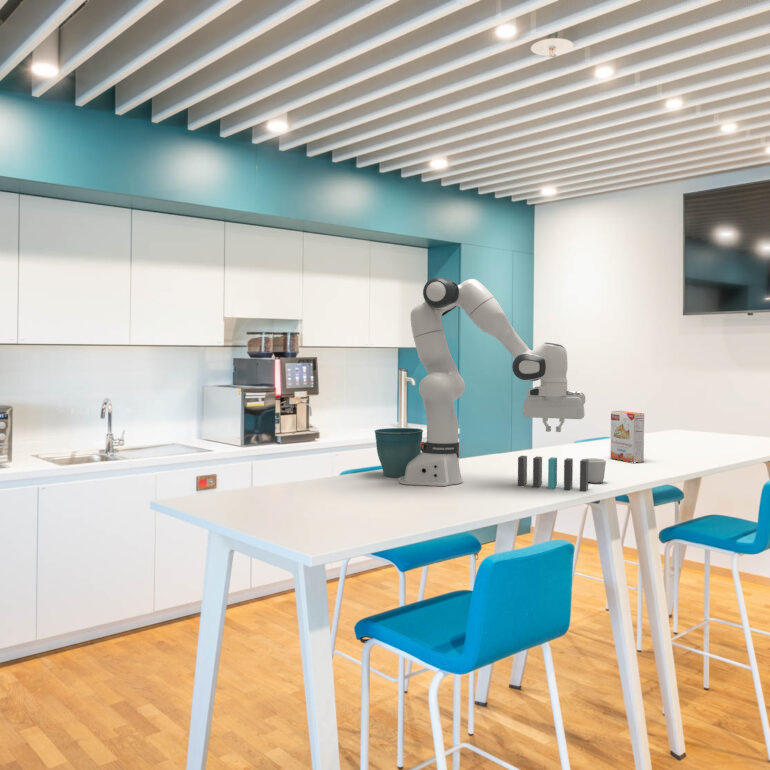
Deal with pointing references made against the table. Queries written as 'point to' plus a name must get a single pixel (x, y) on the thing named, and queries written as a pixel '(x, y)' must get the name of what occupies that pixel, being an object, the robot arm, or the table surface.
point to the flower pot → (397, 449)
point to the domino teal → (552, 472)
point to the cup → (596, 470)
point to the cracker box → (627, 436)
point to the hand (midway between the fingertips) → (553, 431)
